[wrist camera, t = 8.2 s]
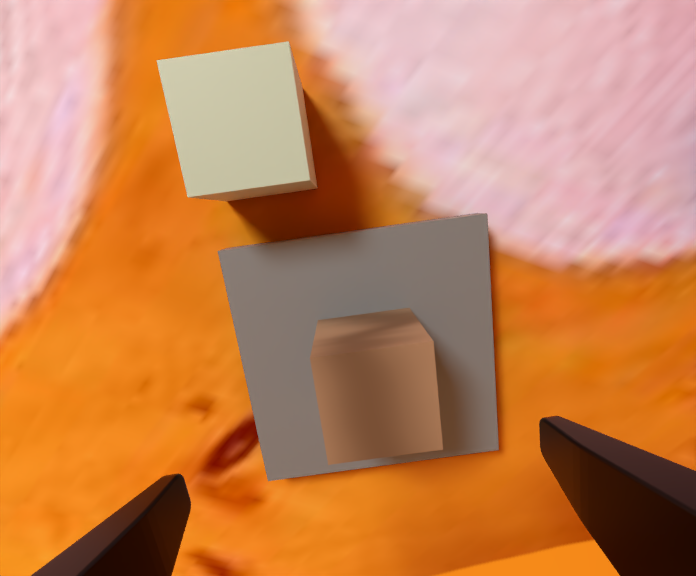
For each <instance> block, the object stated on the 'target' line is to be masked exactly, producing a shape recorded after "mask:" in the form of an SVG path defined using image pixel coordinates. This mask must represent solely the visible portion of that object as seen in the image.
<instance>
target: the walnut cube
mask: <svg viewBox="0 0 696 576" xmlns="http://www.w3.org/2000/svg"><path fill="white" fill-rule="evenodd" d="M310 362H311V368H312V373H313V379H314V385H315V391H316V397H317V402H318V408H319V414H320V420H321V426H322V431H323V437H324V443H325V449H326V455H327V460H328V465H332V464H339V463H347V462H354V461H361V460H369V459H376V458H384V457H391V456H399V455H406V454H414V453H421V452H428V451H436V450H443V443H442V432H441V420H440V409H439V398H438V386H437V375H436V364H435V352H434V341H433V340H432V338H431V337H430V336H429V334H428V333H427V332H426V330H425V329H424V327H423V326H422V325H421V323H420V322H419V320H418V319H417V318H416V316H415V315H414V314H413V312H412V311H411V309H410V308H403V309H395V310H388V311H381V312H374V313H366V314H359V315H352V316H345V317H337V318H330V319H323V320H318V322H317V326H316V331H315V336H314V341H313V346H312V350H311V355H310Z"/></svg>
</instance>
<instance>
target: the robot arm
mask: <svg viewBox="0 0 696 576" xmlns="http://www.w3.org/2000/svg"><path fill="white" fill-rule="evenodd" d="M539 427H540V448H541V452H542V455H543V457H544V459H545V461H546V462H547V464H548V466H549V467H550V469H551V471H552V473H553V474H554V476H555V478H556V479H557V481H558V483H559V485H560V486H561V488H562V490H563V491H564V493H565V495H566V496H567V498H568V500H569V502H570V503H571V505H572V507H573V508H574V510H575V512H576V513H577V515H578V516H579V518H580V520H581V521H582V523H583V524H584V526H585V527H586V528H587V530H588V531H589V533H590V534H591V536H592V537H593V538H594V540H595V541H596V543H597V544H598V545H599V547H600V548H601V549H602V551H603V552H604V554H605V555H606V556H607V558H608V559H609V561H610V562H611V563H612V565H613V566H614V568H615V569H616V570H617V572H618V573H619V575H620V576H696V471H694V470H692V469H689V468H687V467H684V466H682V465H679V464H677V463H674V462H672V461H669V460H667V459H664V458H662V457H659V456H657V455H654V454H652V453H649V452H647V451H644V450H642V449H639V448H637V447H634V446H632V445H630V444H627V443H625V442H622V441H620V440H617V439H615V438H612V437H610V436H607V435H605V434H602V433H600V432H597V431H595V430H592V429H590V428H587V427H585V426H582V425H580V424H577V423H575V422H572V421H570V420H567V419H565V418H562V417H560V416H551V417H545V418H542V419H541V420H540V423H539ZM190 509H191V501H190V497H189V494H188V490H187V487H186V484H185V480H184V478H183V476H182V475H181V474H172V475H166V476H163V477H162V478H160V479H159V480H158V481H156V482H155V483H154V484H152V485H151V486H150V487H148V488H147V489H146V490H144V491H143V492H142V493H140V494H139V495H138V496H136V497H135V498H134V499H132V500H131V501H130V502H128V503H127V504H126V505H124V506H123V507H122V508H120V509H119V510H118V511H116V512H115V513H114V514H112V515H111V516H110V517H108V518H107V519H106V520H104V521H103V522H102V523H100V524H99V525H98V526H96V527H95V528H94V529H92V530H91V531H90V532H88V533H87V534H86V535H84V536H83V537H82V538H80V539H79V540H78V541H76V542H75V543H74V544H72V545H71V546H70V547H68V548H67V549H66V550H64V551H63V552H62V553H60V554H59V555H58V556H56V557H55V558H54V559H52V560H51V561H50V562H48V563H47V564H46V565H45V566H43V567H42V568H41V569H39V570H38V571H37V572H35V573H34V574H33V575H31V576H171V575H172V572H173V569H174V565H175V562H176V558H177V555H178V552H179V548H180V545H181V541H182V538H183V534H184V531H185V527H186V524H187V520H188V517H189V514H190Z"/></svg>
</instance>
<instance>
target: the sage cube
mask: <svg viewBox="0 0 696 576" xmlns="http://www.w3.org/2000/svg"><path fill="white" fill-rule="evenodd" d="M157 64H158V69H159V73H160V78H161V82H162V86H163V91H164V95H165V99H166V104H167V108H168V113H169V117H170V121H171V126H172V130H173V135H174V139H175V143H176V148H177V152H178V156H179V161H180V165H181V170H182V174H183V178H184V183H185V187H186V191H187V196H188V197H190V198H200V199H209V200H219V201H233V200H240V199H247V198H254V197H261V196H268V195H276V194H283V193H290V192H297V191H304V190H311V189H318V187H317V181H316V174H315V167H314V160H313V154H312V147H311V140H310V134H309V127H308V120H307V114H306V107H305V100H304V93H303V87H302V84H301V81H300V77H299V74H298V71H297V67H296V64H295V61H294V57H293V54H292V51H291V47H290V44H289V42H282V43H275V44H268V45H261V46H254V47H247V48H240V49H233V50H226V51H219V52H212V53H205V54H198V55H191V56H184V57H177V58H170V59H163V60H157Z"/></svg>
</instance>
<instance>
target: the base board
mask: <svg viewBox="0 0 696 576" xmlns="http://www.w3.org/2000/svg"><path fill="white" fill-rule="evenodd" d="M218 254H219V259H220V263H221V268H222V272H223V277H224V282H225V286H226V291H227V295H228V300H229V304H230V309H231V314H232V318H233V323H234V327H235V332H236V337H237V341H238V346H239V350H240V355H241V359H242V364H243V369H244V373H245V378H246V382H247V387H248V391H249V396H250V401H251V405H252V410H253V414H254V419H255V423H256V428H257V433H258V437H259V442H260V446H261V451H262V455H263V460H264V465H265V469H266V474H267V478H268V481H272V480H279V479H286V478H294V477H301V476H309V475H316V474H324V473H331V472H339V471H346V470H353V469H361V468H368V467H376V466H383V465H391V464H398V463H406V462H413V461H420V460H428V459H435V458H443V457H450V456H458V455H465V454H473V453H480V452H487V451H495V450H499V445H498V425H497V404H496V383H495V363H494V342H493V321H492V301H491V280H490V259H489V239H488V218H487V214H479V213H476V214H469V215H462V216H454V217H447V218H440V219H433V220H426V221H419V222H412V223H404V224H397V225H390V226H383V227H376V228H369V229H361V230H354V231H347V232H340V233H333V234H326V235H318V236H311V237H304V238H297V239H290V240H283V241H276V242H268V243H261V244H254V245H247V246H240V247H233V248H226V249H223V250H220V251H218ZM403 308H410V309H411V311H412V312H413V314H414V315H415V316H416V318H417V319H418V320H419V322H420V323H421V325H422V326H423V327H424V329H425V330H426V332H427V333H428V334H429V336H430V337H431V338H432V340H433V341H434V352H435V364H436V375H437V386H438V398H439V409H440V420H441V432H442V443H443V450H436V451H428V452H421V453H414V454H406V455H399V456H391V457H384V458H376V459H369V460H361V461H354V462H347V463H339V464H332V465H328V460H327V455H326V449H325V443H324V437H323V431H322V426H321V420H320V414H319V408H318V402H317V397H316V391H315V385H314V379H313V373H312V368H311V362H310V355H311V350H312V346H313V341H314V336H315V331H316V326H317V322H318V320H323V319H330V318H337V317H345V316H352V315H359V314H366V313H374V312H381V311H388V310H395V309H403Z"/></svg>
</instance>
